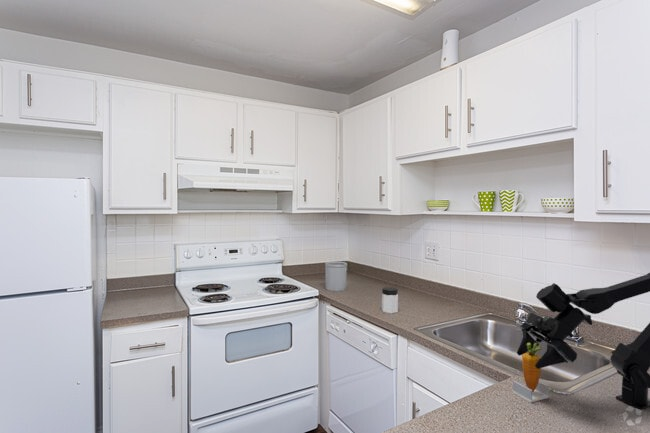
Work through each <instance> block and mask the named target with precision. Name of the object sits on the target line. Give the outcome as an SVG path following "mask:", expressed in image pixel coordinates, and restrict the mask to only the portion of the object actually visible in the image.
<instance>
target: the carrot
mask: <svg viewBox="0 0 650 433" xmlns="http://www.w3.org/2000/svg"><path fill="white" fill-rule="evenodd" d="M537 343H538V342H537ZM537 343H534V346H533V349H531V344H530V343H527V344H526V345H527V347H528V352H526V353H524V354H522V355H521V356H522V358H521V360H522V361H521V363H522V364H521V365H522V373H523V378H524V382H525V386H526V387H527V388H529V389H531V390H532V392H534V390H535V389H536V387H537V385H538V382H539V381H540V376H541V369H542V368H539V369H537V368H536V367H535V365H536V363H537V362H538V361H539V359H540V358H541V357H540V356H539V355H538V354H536V353H537V352H538V351H540V350H542V349H541V347H540V346H536V345H537Z"/></svg>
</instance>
